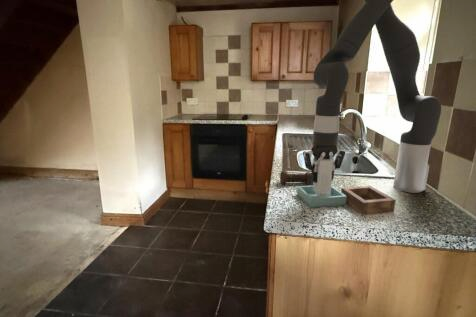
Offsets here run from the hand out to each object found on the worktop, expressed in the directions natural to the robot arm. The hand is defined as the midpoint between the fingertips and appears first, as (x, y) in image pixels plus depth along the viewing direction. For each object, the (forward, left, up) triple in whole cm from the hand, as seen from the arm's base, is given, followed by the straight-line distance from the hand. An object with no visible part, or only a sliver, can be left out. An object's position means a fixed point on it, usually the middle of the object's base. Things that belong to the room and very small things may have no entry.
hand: (321, 181), depth 91 cm
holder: (-12, +7, -7) cm, 15 cm away
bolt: (+1, -16, -7) cm, 17 cm away
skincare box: (0, 0, -5) cm, 5 cm away
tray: (0, 0, -7) cm, 7 cm away
